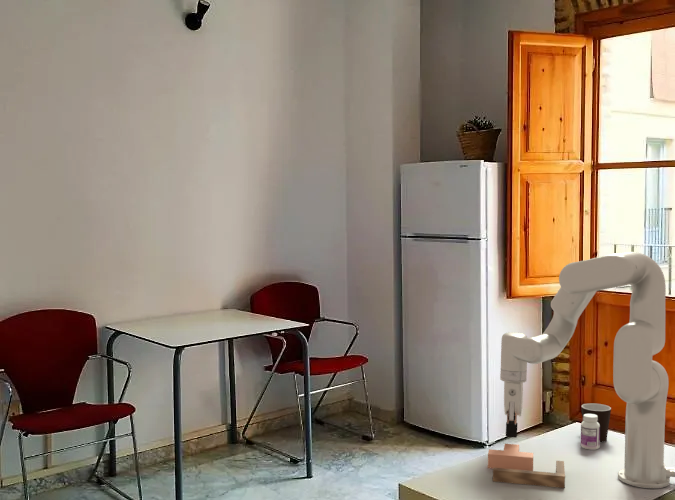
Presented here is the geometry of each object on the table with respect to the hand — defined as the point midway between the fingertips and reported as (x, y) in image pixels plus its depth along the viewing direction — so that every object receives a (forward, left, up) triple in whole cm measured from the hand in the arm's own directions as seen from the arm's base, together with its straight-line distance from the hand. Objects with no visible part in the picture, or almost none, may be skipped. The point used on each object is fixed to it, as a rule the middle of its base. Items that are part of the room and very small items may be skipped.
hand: (511, 436), depth 226 cm
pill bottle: (-23, -8, -4) cm, 24 cm away
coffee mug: (-25, -18, -4) cm, 31 cm away
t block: (-1, +13, -4) cm, 14 cm away
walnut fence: (-6, +21, -4) cm, 22 cm away
